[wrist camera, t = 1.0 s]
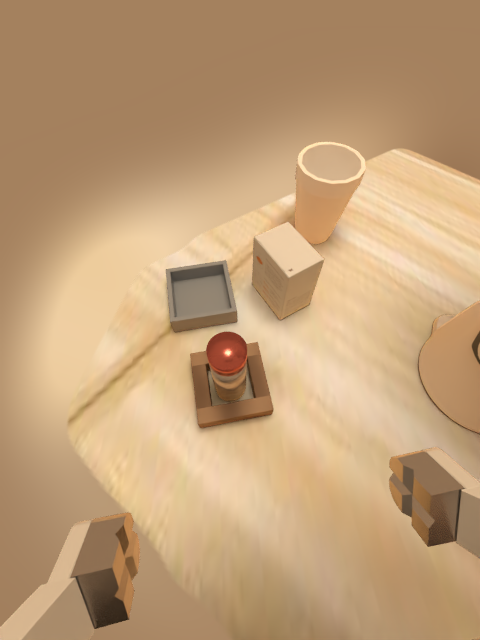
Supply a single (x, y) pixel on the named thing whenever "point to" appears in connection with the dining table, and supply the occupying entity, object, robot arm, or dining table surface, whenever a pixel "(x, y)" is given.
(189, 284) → the tray
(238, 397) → the red-lidded jar
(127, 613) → the robot arm
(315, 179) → the foam cup
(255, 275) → the small box
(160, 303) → the dining table surface
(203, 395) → the wooden square frame
